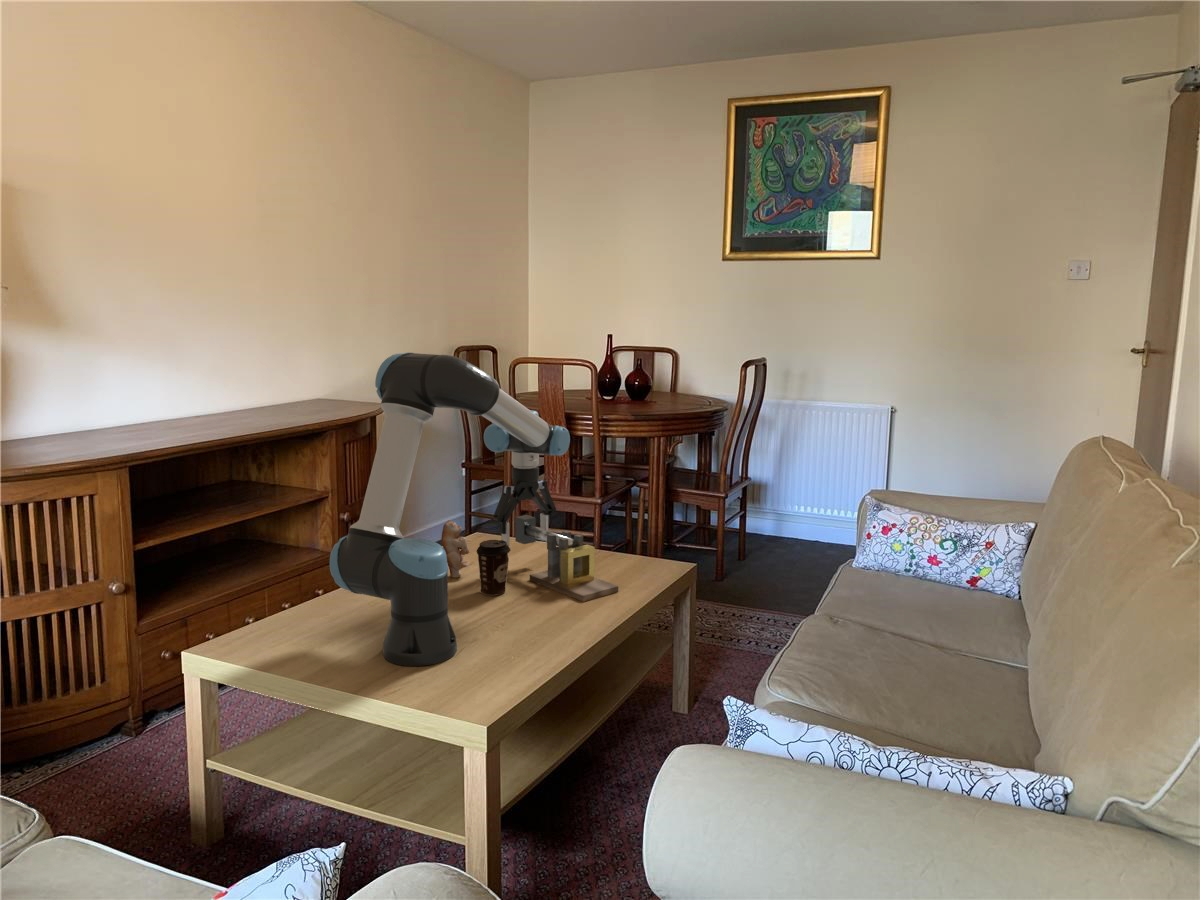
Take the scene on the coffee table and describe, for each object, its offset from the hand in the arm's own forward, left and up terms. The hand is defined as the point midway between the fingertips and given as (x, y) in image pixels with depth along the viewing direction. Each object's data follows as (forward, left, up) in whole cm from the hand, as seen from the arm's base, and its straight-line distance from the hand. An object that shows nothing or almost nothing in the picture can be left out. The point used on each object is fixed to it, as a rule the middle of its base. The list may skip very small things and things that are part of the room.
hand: (525, 540), depth 236 cm
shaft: (0, -9, 0) cm, 9 cm away
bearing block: (0, -21, -8) cm, 22 cm away
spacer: (0, -23, -6) cm, 24 cm away
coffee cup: (-19, -12, -8) cm, 24 cm away
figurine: (-19, +6, -8) cm, 21 cm away
